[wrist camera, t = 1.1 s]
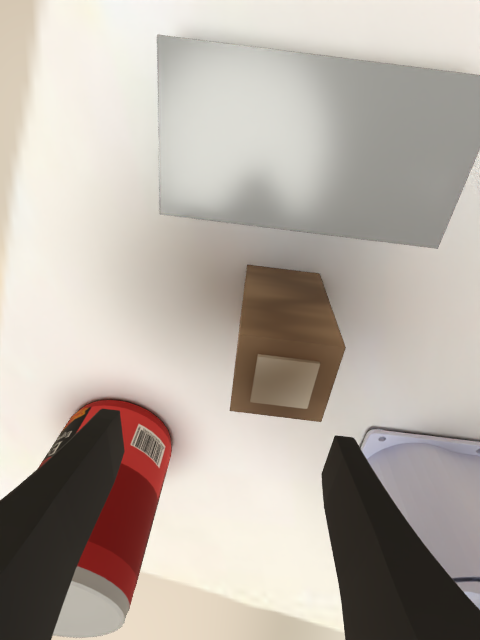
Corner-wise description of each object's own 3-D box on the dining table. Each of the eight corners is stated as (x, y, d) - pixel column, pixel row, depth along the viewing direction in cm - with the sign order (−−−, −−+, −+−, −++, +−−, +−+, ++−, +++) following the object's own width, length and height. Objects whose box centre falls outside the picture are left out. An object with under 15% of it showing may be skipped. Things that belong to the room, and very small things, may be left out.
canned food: (71, 385, 24) (-52, 557, 15) (182, 410, 25) (132, 591, 15) (71, 453, 28) (-26, 623, 19) (167, 473, 29) (120, 648, 19)
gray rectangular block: (464, 85, 14) (509, 78, 12) (411, 228, 17) (437, 248, 15) (176, 49, 14) (156, 34, 12) (175, 199, 17) (159, 214, 15)
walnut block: (319, 273, 19) (346, 349, 13) (304, 333, 21) (321, 424, 15) (247, 264, 19) (239, 336, 13) (239, 326, 21) (229, 413, 15)
